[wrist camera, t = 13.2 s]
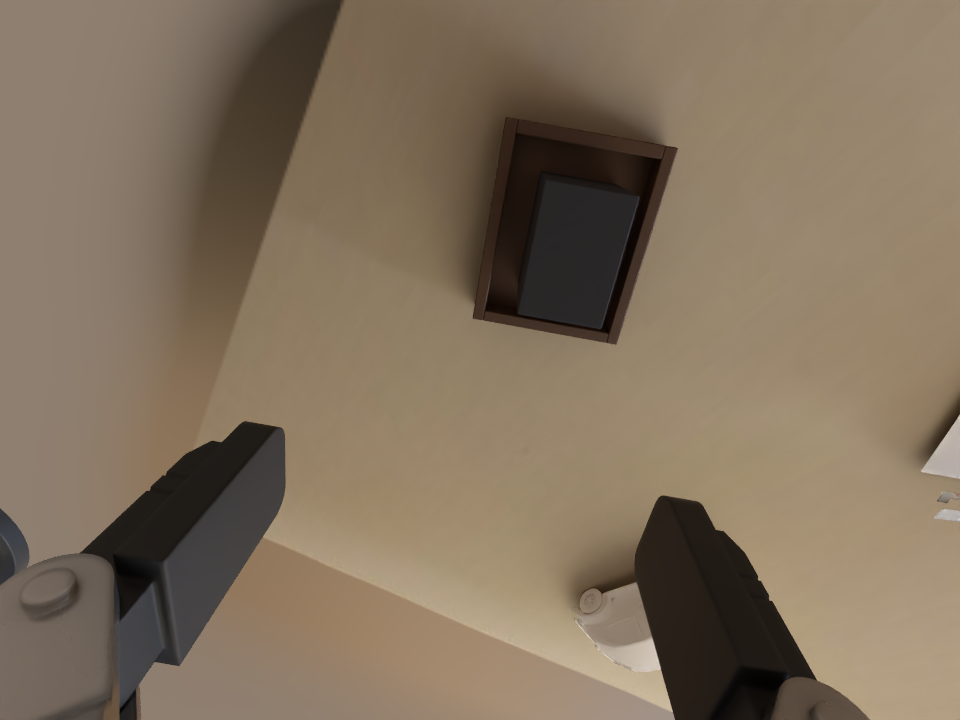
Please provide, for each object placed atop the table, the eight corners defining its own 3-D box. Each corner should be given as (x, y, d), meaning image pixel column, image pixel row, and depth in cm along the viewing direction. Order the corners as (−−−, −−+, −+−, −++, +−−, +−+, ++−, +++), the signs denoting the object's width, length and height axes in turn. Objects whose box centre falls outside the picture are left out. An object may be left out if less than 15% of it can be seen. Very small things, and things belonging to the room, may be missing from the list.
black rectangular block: (517, 282, 27) (516, 314, 22) (540, 170, 25) (544, 178, 20) (587, 294, 27) (601, 329, 22) (617, 184, 24) (640, 195, 20)
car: (607, 642, 40) (617, 701, 36) (565, 597, 38) (570, 655, 34) (744, 587, 36) (773, 646, 32) (704, 535, 34) (730, 591, 30)
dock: (475, 307, 29) (472, 318, 27) (507, 118, 24) (505, 116, 22) (610, 331, 28) (616, 344, 27) (666, 147, 24) (678, 147, 22)
